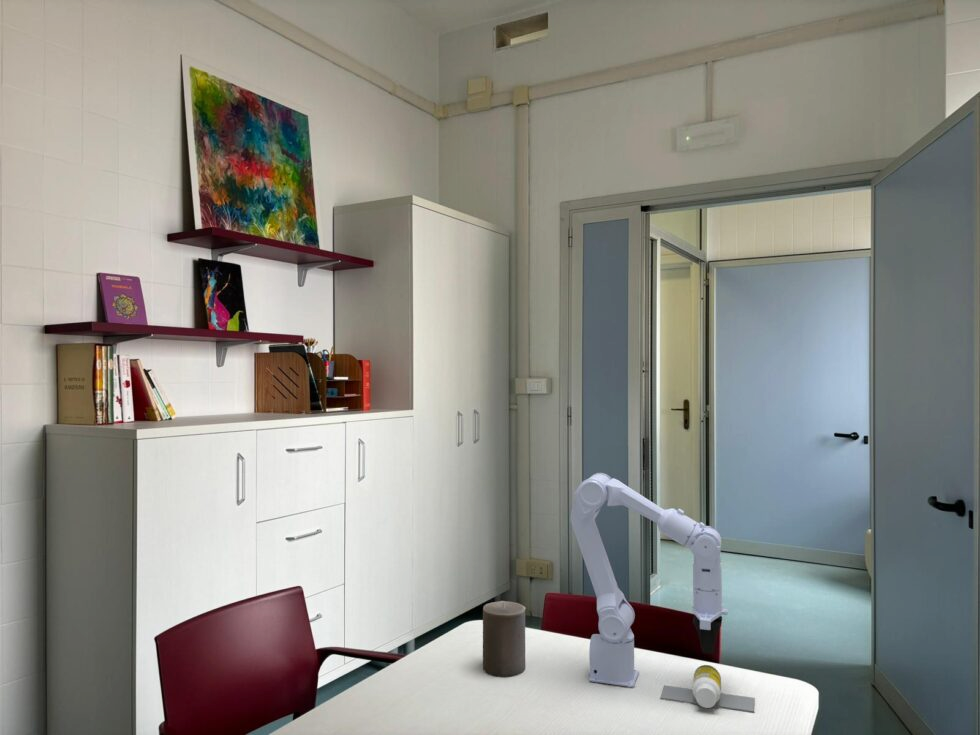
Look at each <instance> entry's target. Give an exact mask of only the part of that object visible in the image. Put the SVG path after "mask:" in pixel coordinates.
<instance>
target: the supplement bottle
mask: <svg viewBox="0 0 980 735" xmlns="http://www.w3.org/2000/svg"><path fill="white" fill-rule="evenodd" d="M692 680H693V681H692V689H693V695H694V697H695V698H696V701H697V702H698V704H699V706H700V707H702V708H706V709H710V708H714V707H713V706H714V705H715V704H716V702H717V701H718V700H719V698H720V694H721V693H722V692H721V688H722V676H721V674H720V672H719V671H718V669H717V668H715V666H712V665H710V664H709V665H708V664H704V665H703V664H702V665H699V666H698V667H697V668H696V669H695V671H694V673H693V679H692ZM698 704H697V705H698Z"/></svg>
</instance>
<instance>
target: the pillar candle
mask: <svg viewBox="0 0 980 735" xmlns="http://www.w3.org/2000/svg"><path fill="white" fill-rule="evenodd" d="M526 609H527V608H526V606H524V605H522V604H520V603H518V602H513V601H505V600H500V601H495V602H493V601H492V602H490V603H486V604H485V605H483V608H482V670H483V671H484V673H486V674H488V675H490V676H493V677H497V678H509V677H515V676H519V675H521V674H522V673H524V672H525V670H526Z"/></svg>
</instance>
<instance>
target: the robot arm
mask: <svg viewBox="0 0 980 735" xmlns="http://www.w3.org/2000/svg"><path fill="white" fill-rule="evenodd" d="M573 498H574V499H573V502H572V509H571V513H570V518H569V519H570V524H571V526H572V530H573V532H574V534H575V537H576V541H577V543H578V546H579V549H580V552H581V555H582V557H583V558H582V559H583V561H584V565H585V567H586V570H587V572H588V576H589V578H590V582H591V584H592V587H593V590H594V591H593V592H594V593H595V596H596V612H597V615H598V623H597V624H598V631H599V633H593V634H592V635H591V637H590V640H589V649H588V650H589V652H588V656H589V678H588V681H589V682H591V683H592V682H593V683H598V684H599V683H600V684H607V685H614V686H621V687H627V688H628V687H629V688H633V687H634V686H635V683H636V682H637V679H638V676H639V674H640V670H638V669H635V635H634V633H633V631H632V628H631V626H632V625H633V624H634V622H635V618H636V617H635V616H636V614H635V613H636V612H635V610H634V608H633V607H632V605H631V604H630V603H629V602H628V601H627V599H626V597H625V594H624V593H623V591H622V590H621V589H620V588H619V587H618V583H617V580H616V577H615V575H614V571H613V569H612V565H611V562H610V560H609V556H608V554H607V552H606V549H605V546H604V543H603V540H602V537H601V535H600V531H599V528H598V525H597V523H596V517H597V516H598V514H599V513H600V511H601V509H602V506H603V505H604V504H605V503H607V505H606V506H607V507H616V506H624V507H626V508H628V509H629V510H631V511H634V512H635V513H637V514H639V515H641V517H645V518H647V519H648V520H650V521H652V522H654V523H656V526H657V528H658V530H659V533H661V534H663V535H664V536H666V537H668V538H670V539H671V540H673V541H675V542H676V543H678V544H679V545H681V546H683V547H685V548H688V549H690V552H691V553H692V555H693V564H692V604H693V605H692V608H691V610H692V613H693V614H694V616H693V619H692V624H693V626H694V627H695V629H696V632H697V634H698V638H699V643H700V648H701V651H702V654H707V655H714V653H715V647H716V643H717V642H716V641H717V636H718V633H719V631H720V628H721V627H722V625H723V624H722V623H723V616H728V614H729V613H728V612H729V609H728V608H724V607H723V600H722V599H723V598H722V597H723V595H722V592H723V590H722V589H723V588H722V587H723V586H722V585H723V584H722V579H723V578H722V565H721V562H722V558H721V557H722V556H721V551H722V544H723V541H722V538H721V534H720V533H719V532H718V531H717V530H716V529H715V528H714V527H713V526H710V525H705V523H703V522H702V521H700V522H698V521H696V520H694V519H692V518H691V517H689V516H688V515H685V514H684V513H685V511H684V509H683V510H682V509H681V508H678V510H677V509H676V508H672V507H670V508H668V509H664V508H662V507H661V506H659V505H657V504H656V503H655V502H653V501H651V500H650V499H648V498H646V497H645V496H643V494H640V493H638V492H637V491H636V490H634V489H633V488H631V487H629V486H628V485H626V484H624V483H623V482H622V481H620V480H618V479H617V478H614V477H612V478H611V476H610V475H609V474H606V473H604V472H596V473H594V474H592V475H591V476H590V477H589V478H587V479H585V480H583V481H581V483H579V486H578V487H577V488H576V490H575V491H574V493H573Z"/></svg>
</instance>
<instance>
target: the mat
mask: <svg viewBox="0 0 980 735" xmlns="http://www.w3.org/2000/svg"><path fill="white" fill-rule="evenodd" d="M659 699H660V700H664V699H665V701H670V702H671V701H672V702H677V701H678V702H679V703H684V702H686V703H685V704H691V703H694V704H693V705H698V702H697V701H696V698H695V697H694V695H693V688H687V687H681V686H673V685H665V684H663V688H662V691H661V694H660V697H659ZM755 700H756V698H755V697H751V696H745V695H737V694H730V693H723V692H721V694H720V698H719V700H718V701H717V702H716V704H715V705H714V706H713V707H712V708H718V707H719V708H720V709H726V710H733V711H740V712H744V713H745V712H747V713H755ZM719 708H718V709H719Z"/></svg>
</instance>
